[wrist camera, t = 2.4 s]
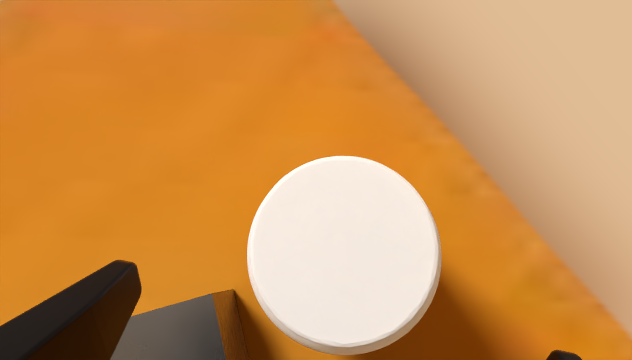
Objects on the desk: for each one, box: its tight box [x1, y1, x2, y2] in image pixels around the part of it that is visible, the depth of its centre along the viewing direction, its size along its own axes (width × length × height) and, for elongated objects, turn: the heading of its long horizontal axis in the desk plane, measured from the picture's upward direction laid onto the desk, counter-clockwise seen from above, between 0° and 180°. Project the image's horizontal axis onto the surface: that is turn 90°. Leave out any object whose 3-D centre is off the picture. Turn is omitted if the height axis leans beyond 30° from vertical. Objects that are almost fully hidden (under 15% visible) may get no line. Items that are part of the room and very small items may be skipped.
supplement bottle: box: [247, 156, 441, 355], centre depth 13 cm, size 5×5×10 cm
